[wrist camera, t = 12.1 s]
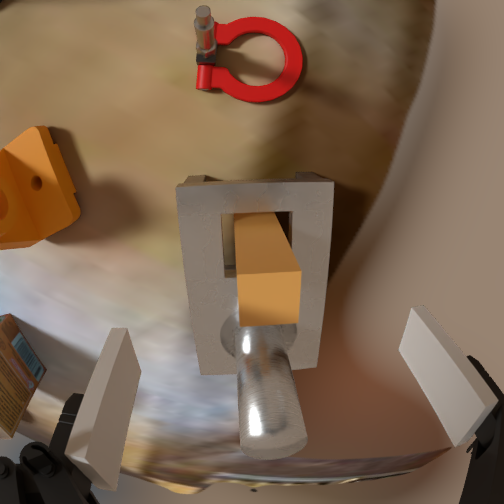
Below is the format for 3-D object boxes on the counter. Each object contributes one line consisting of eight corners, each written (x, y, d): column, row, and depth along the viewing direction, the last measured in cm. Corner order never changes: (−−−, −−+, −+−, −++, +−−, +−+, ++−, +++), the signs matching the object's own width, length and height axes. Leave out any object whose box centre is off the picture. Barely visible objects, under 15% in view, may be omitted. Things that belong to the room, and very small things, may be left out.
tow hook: (302, 27, 23) (203, 16, 22) (360, -22, 12) (197, -48, 10) (295, 107, 27) (194, 99, 25) (353, 103, 15) (178, 83, 14)
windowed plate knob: (186, 174, 28) (127, 252, 12) (314, 169, 29) (416, 239, 12) (203, 339, 36) (194, 476, 19) (305, 332, 36) (346, 462, 20)
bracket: (86, 213, 29) (24, 264, 18) (40, 237, 29) (-21, 290, 18) (49, 121, 24) (-29, 132, 13) (5, 154, 25) (-69, 179, 14)
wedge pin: (233, 205, 30) (236, 274, 17) (270, 203, 30) (301, 271, 17) (234, 239, 31) (239, 326, 18) (270, 238, 31) (298, 322, 18)
